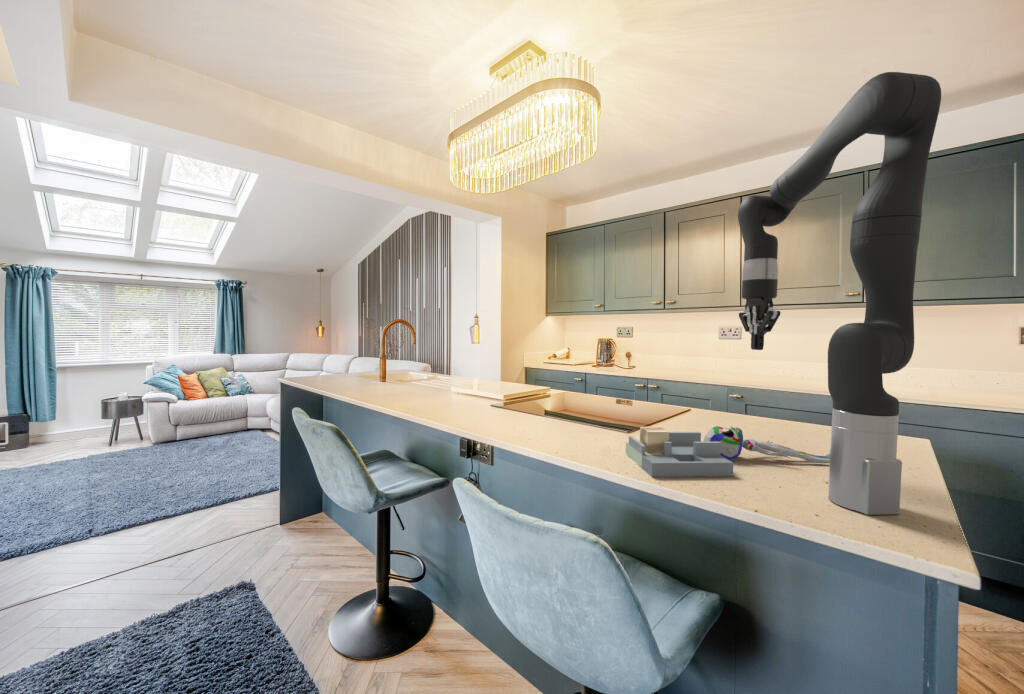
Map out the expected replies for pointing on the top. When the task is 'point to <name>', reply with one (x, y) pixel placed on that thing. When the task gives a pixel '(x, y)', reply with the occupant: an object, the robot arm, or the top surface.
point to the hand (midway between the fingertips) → (756, 349)
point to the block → (653, 438)
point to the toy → (754, 446)
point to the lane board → (681, 457)
